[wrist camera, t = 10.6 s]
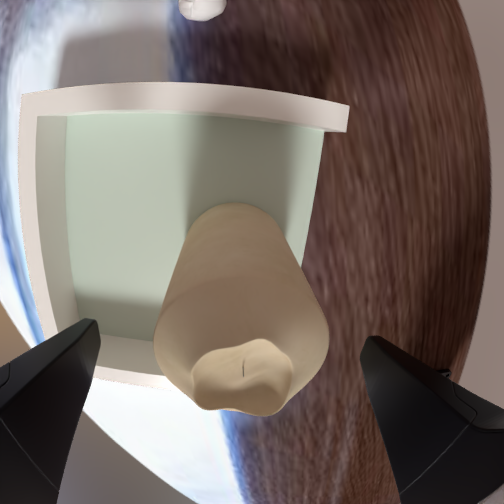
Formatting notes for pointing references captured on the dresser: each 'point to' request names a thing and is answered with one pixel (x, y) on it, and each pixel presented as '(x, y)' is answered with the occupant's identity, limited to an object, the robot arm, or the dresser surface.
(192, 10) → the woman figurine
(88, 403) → the dresser surface
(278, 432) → the dresser surface
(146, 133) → the box
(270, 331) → the candle
